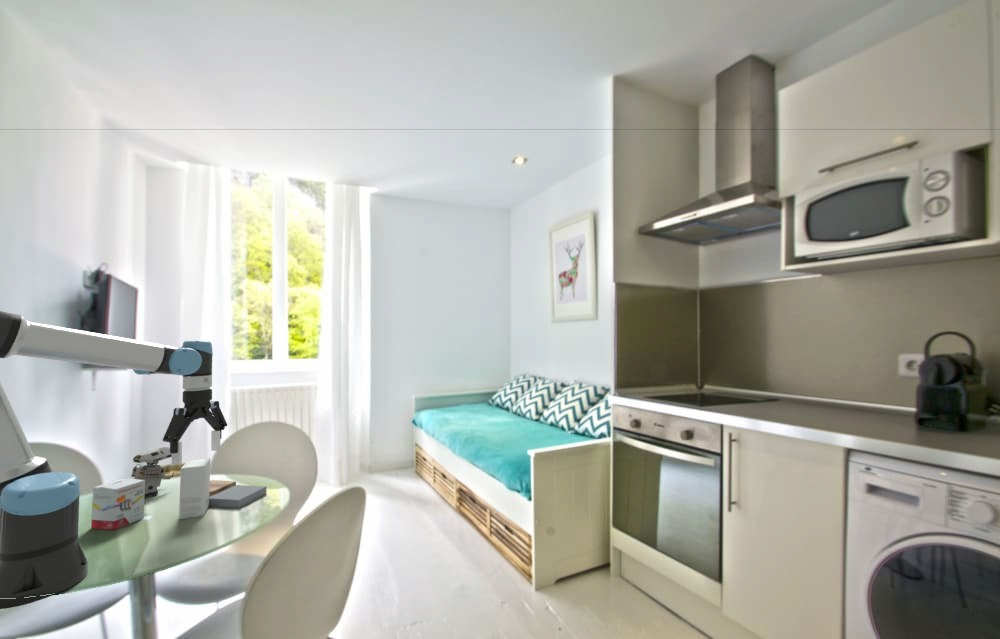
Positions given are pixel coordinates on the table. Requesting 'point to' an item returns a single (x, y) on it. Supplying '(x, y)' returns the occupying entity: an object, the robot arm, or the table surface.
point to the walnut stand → (219, 486)
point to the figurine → (151, 469)
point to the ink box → (118, 503)
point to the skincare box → (194, 488)
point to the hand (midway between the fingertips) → (197, 456)
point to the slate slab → (237, 496)
